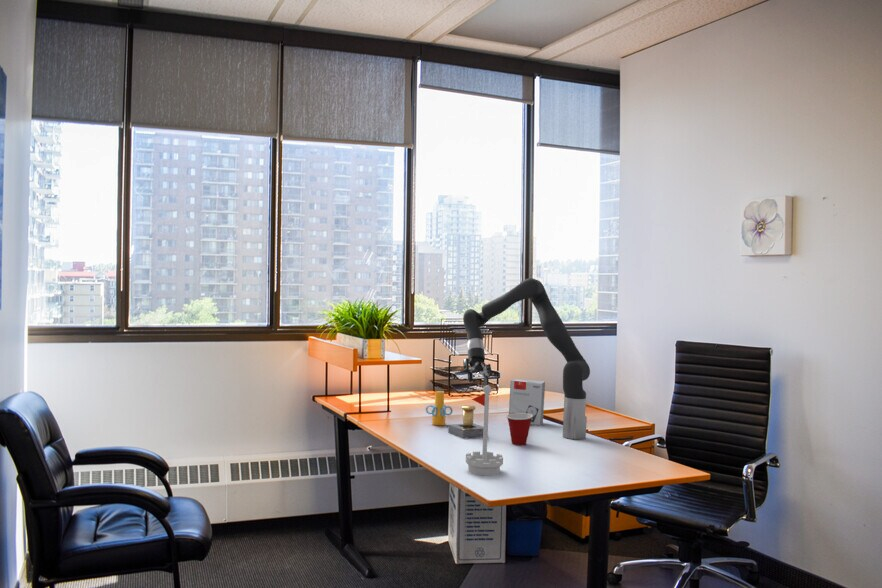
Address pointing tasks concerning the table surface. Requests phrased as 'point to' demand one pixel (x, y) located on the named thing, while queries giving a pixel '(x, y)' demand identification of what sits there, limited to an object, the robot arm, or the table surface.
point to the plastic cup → (519, 427)
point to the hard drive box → (527, 398)
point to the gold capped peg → (468, 416)
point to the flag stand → (484, 445)
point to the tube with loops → (439, 409)
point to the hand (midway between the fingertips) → (478, 383)
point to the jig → (466, 430)
